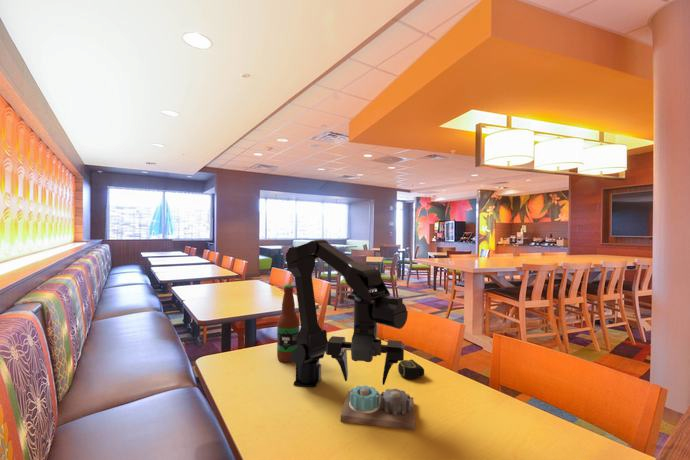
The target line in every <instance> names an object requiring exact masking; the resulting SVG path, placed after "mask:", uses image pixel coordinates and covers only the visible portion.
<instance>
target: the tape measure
mask: <svg viewBox="0 0 690 460" xmlns="http://www.w3.org/2000/svg"><path fill="white" fill-rule="evenodd" d="M398 363H399V364H398V366H397V370H398V373H399V375H401V376H402V377H404V378H407V379H416V378H420V377H422V376H424V375H425V369H424V367H422V365H420V364H419V363H417V361H415V360H414V359H405V360H403V361H399V362H398Z"/></svg>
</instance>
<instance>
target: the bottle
mask: <svg viewBox="0 0 690 460" xmlns="http://www.w3.org/2000/svg"><path fill="white" fill-rule="evenodd" d="M283 292H284V293H283V297H282V302H281V314H280V316H279V318H278V320H277V323H276V331H277V332H276V335H277V337H276V339H277V341H276V344H277V345H276V354H277V355H276V356H277V357H276V358H277V360H278V361H279V362H281V363H292V362H291V357H290V354H291V353H292V352H293V351H294V350H295V349H296V348H297V337H298V334H299V331H300V318H299V317H298V316H297V314H296V306H295V305H296V304H295V297H294V293H293V292H294V285H292V284H284V286H283Z"/></svg>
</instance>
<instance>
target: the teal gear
mask: <svg viewBox="0 0 690 460" xmlns="http://www.w3.org/2000/svg"><path fill="white" fill-rule="evenodd" d="M362 388H367V389H369V395H368V396H363V395H360V389H362ZM350 391H351V393H350V404H351V405H353V408H354V409H359V410H361V411H367V410H370V411H371V410H373V409H374V408H375V407H376V408H377V407H378V403H379V394H380V392H379V390H376V387H374V386H369V385H366V384H365V385H357V386H355V387H354V388H352V389H351V390H350Z"/></svg>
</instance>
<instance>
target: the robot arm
mask: <svg viewBox="0 0 690 460" xmlns="http://www.w3.org/2000/svg"><path fill="white" fill-rule="evenodd" d="M317 259H320V260H322V261H323V262H324V263H326V264H327V265H328V266H330V267H331V268H332V269H334V270H335V271H336V272H338V273H339V274H340V275H341V276H342V277H343V278H344V281H345V283H346V285H347V286H348V287H349V288H350V289H351V290H352V291H351V293H350V294H349V295H347V300H350V301H351V300H352V301H353V333H352V337H351V341H346V337H345V336H333V335H331V337H330V338H329V339H328V336H327V335H328V334H327V333H328V332H327V330H326V329H322V327H321V326H320V325H319V322H318V321H319V320H318V312H317V304H316V299H315V292H314V291H315V289H314V283H313V277H312V275H313V273H314V270H315V268H316V260H317ZM285 261H286V265H287V269H288V270H289V272H290V273H291V275H292V276H293V277H294V282H295V290H296V297H297V306H298V313H299V324H300V328H299V334H298V337H297V348H296V349H295V350H294V351H293V352H292V353H291V354H290V357H291V362H290V363H293V364H294V365H295V380H294V382H293V386H301V387H309V388H310V387H311V388H315V387H317V385H318V383H319V382H320V380H321V379H322V364H321V363H320V359H324V357H325V355H326V356H331V358H332V359H334V360H336V361H337V363H338V365H339V366H340V367H339V368H340V370H341V373H342V375H343V379H344V381H345V382H348V377H349V374H348V373H349V370H348V368H349V367H348V354H347V353H348V352H347V351H350V353H351V354H350V355H351V357H350V358H351V360H352V361H354V362H365V363H370V362H373V359H374V357H376V358H377V357H378V356H381V355H382V354H385V361H384V365H383V366H384V367H383V373H382V386H383V385H385V383H386V381H387V378H388V374H389V372H390V370H391V368H392V366H393V365H394V364H398V363H399V362H401V361H403V360H404V358H405V356H404V355H405V354H404V353H405V349H404V348H405V347H404V345H405V343H404V342H403V341H401V340H391V339H388V340H387V344H383V343H382V339H381V338H378V324H379V325H383V326H386V327H390V328H393V329H398V330H400V329H403V328H404V326H405V325H406V322H407V321H408V314H409V313H408V310H407V306H406V304H405V303H404V301H403V300H404V299H403V298H402V297H399V296H391V293H390V291H389V289H388V287H387V286H386V284H385V282H384V281H383V278H382V274H381V272H380V271H379V269H377V268H376V267H374V266H371V265H369V264H366V263H362V262H357V261H355V260H354V259H352V258H351V257H349V256H348V255H347V254H345V253H344V252H342V251H341V250H339V249H337V248H336V247H334V246H333V245H331V244H330V243H329V241H327V240H326V239H313V240H310V241H309V242H306V243H304V244H301V245H297V246H291V247H289V248H288V249H287V252H285Z"/></svg>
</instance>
